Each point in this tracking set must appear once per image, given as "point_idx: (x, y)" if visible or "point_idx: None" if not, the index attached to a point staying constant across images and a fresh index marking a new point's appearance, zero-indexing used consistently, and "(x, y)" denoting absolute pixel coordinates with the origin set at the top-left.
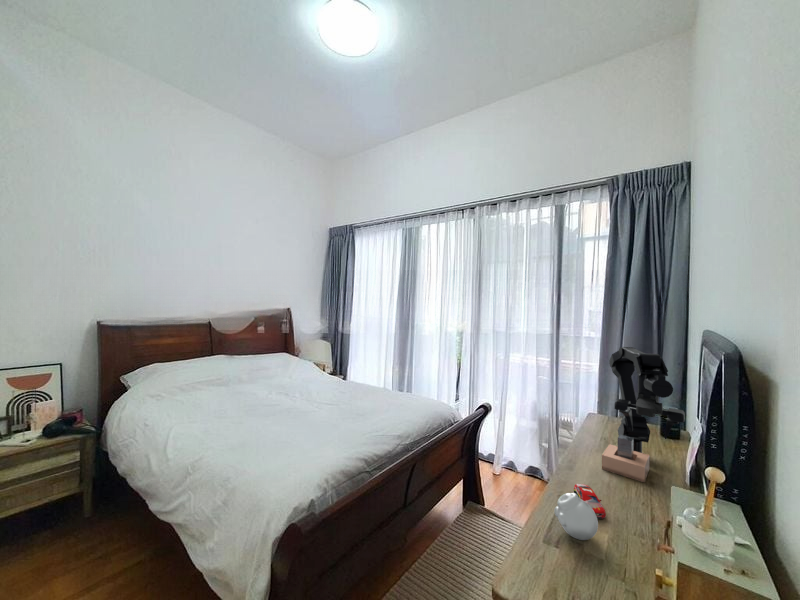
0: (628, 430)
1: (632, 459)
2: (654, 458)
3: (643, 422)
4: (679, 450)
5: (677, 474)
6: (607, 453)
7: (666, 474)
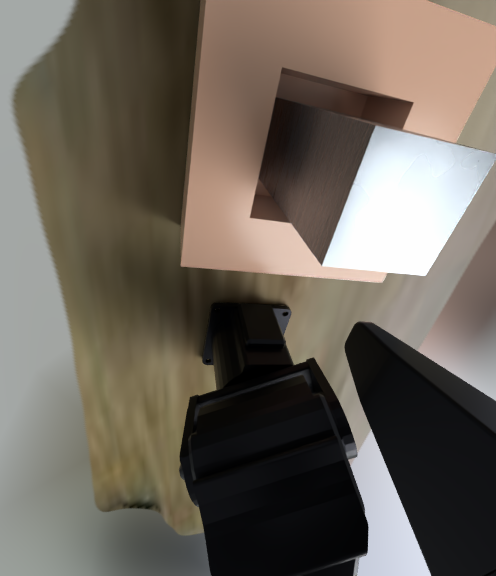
0: (317, 402)
1: (281, 148)
2: (165, 353)
3: (228, 526)
4: (95, 457)
5: (57, 251)
6: (453, 100)
7: (101, 215)
